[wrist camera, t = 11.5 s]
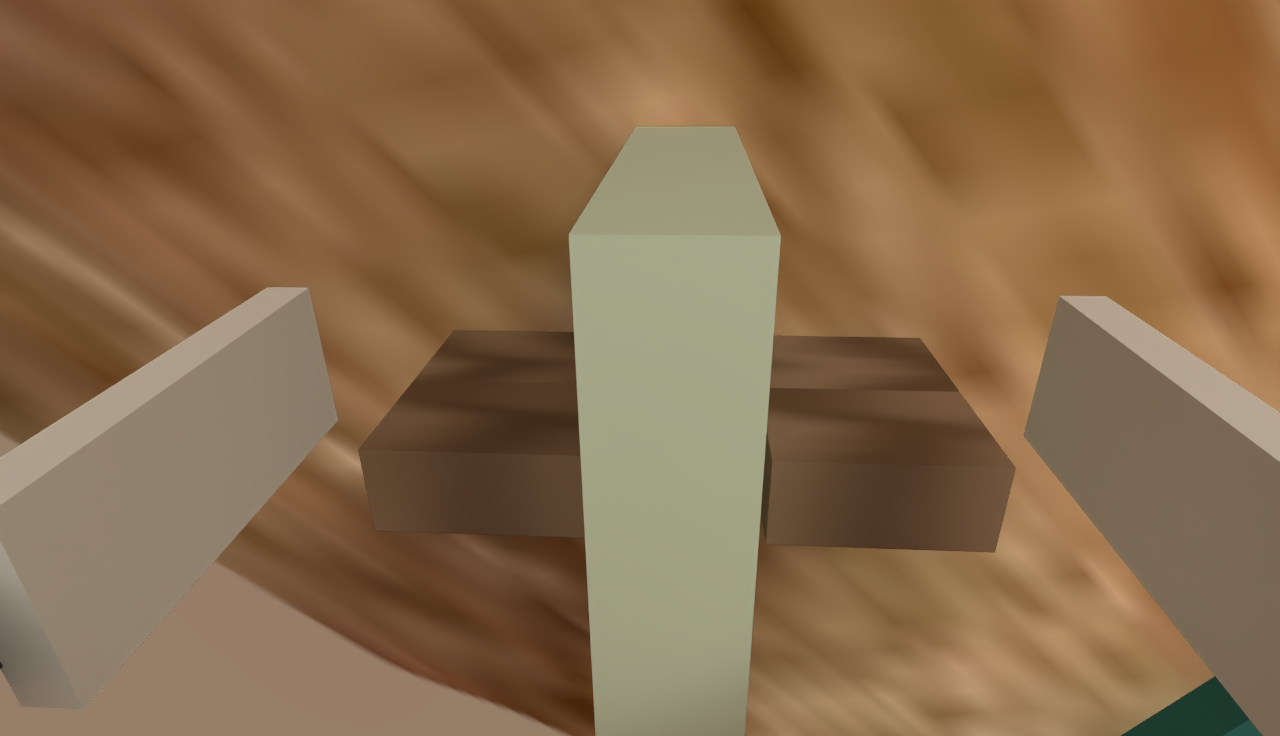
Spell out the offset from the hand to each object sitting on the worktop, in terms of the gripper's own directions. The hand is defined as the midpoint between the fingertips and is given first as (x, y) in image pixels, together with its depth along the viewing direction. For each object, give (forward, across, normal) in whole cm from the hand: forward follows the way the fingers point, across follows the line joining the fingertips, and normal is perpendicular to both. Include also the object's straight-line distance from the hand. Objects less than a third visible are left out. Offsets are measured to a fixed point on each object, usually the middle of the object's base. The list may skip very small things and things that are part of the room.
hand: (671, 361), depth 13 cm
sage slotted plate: (+11, 0, -5) cm, 12 cm away
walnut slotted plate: (+11, 0, -6) cm, 12 cm away
